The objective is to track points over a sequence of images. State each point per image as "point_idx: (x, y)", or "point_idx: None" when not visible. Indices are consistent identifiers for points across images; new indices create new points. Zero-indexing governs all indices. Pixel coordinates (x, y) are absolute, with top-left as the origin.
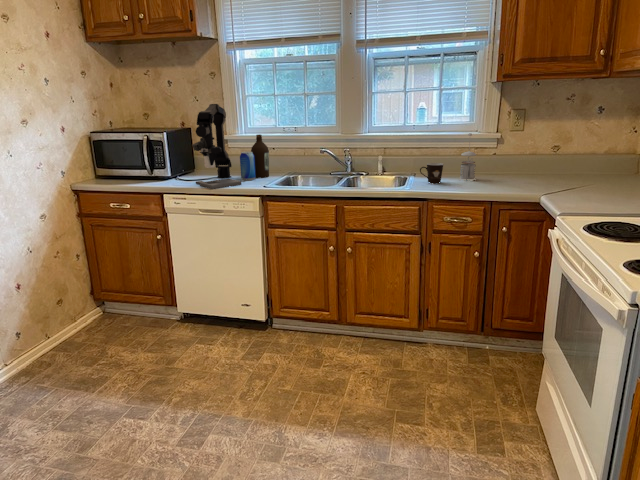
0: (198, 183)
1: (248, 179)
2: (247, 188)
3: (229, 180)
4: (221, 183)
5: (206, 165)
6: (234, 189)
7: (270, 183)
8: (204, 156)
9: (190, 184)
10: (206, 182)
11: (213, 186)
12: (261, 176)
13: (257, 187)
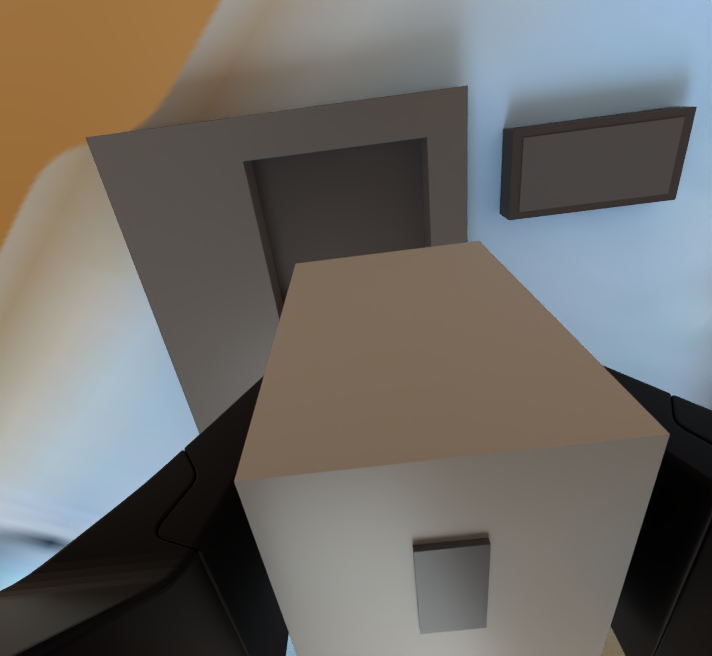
0: (595, 118)
1: None
2: (13, 435)
3: None
4: (193, 300)
5: (388, 270)
6: (3, 335)
7: None
8: (587, 429)
9: (698, 10)
10: (428, 184)
11: (102, 162)
12: None
13: (31, 500)
